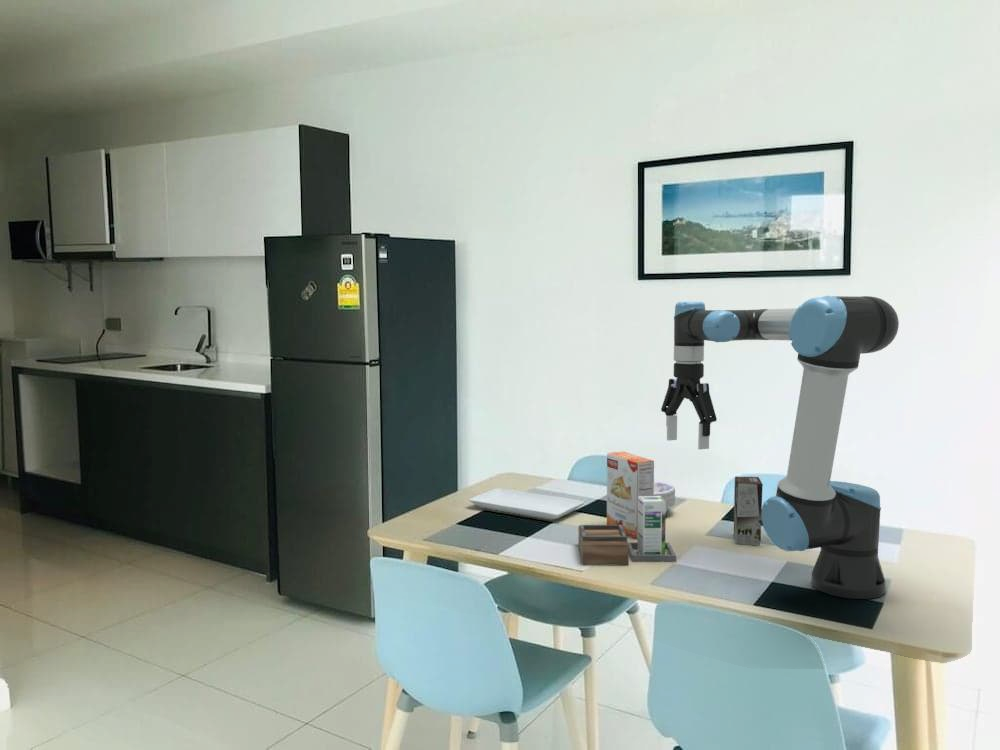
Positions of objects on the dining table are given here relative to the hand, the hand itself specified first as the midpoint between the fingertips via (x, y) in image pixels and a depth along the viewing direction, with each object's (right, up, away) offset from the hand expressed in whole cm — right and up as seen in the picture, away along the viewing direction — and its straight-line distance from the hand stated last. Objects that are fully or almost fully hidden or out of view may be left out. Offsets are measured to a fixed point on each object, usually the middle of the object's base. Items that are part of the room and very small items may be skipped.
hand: (687, 444), depth 216 cm
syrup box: (-11, -27, -8) cm, 30 cm away
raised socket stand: (-23, -27, -7) cm, 36 cm away
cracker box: (-13, -25, +12) cm, 31 cm away
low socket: (-11, -27, -8) cm, 30 cm away
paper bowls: (-5, -23, +31) cm, 39 cm away
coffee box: (+17, -26, +4) cm, 31 cm away
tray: (-41, -23, +35) cm, 58 cm away
